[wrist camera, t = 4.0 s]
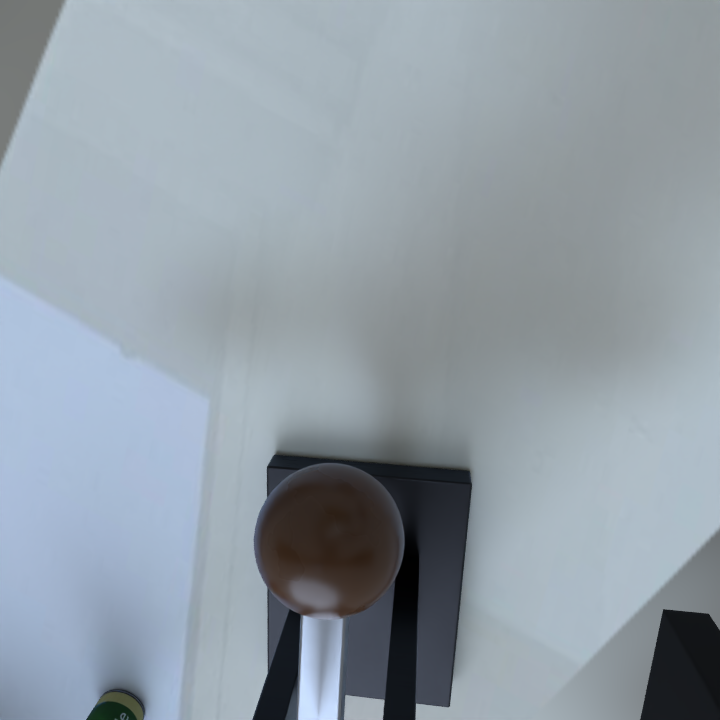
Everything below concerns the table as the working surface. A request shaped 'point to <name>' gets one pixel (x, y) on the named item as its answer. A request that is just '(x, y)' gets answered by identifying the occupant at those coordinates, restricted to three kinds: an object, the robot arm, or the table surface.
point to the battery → (117, 707)
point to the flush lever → (327, 568)
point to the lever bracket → (389, 600)
